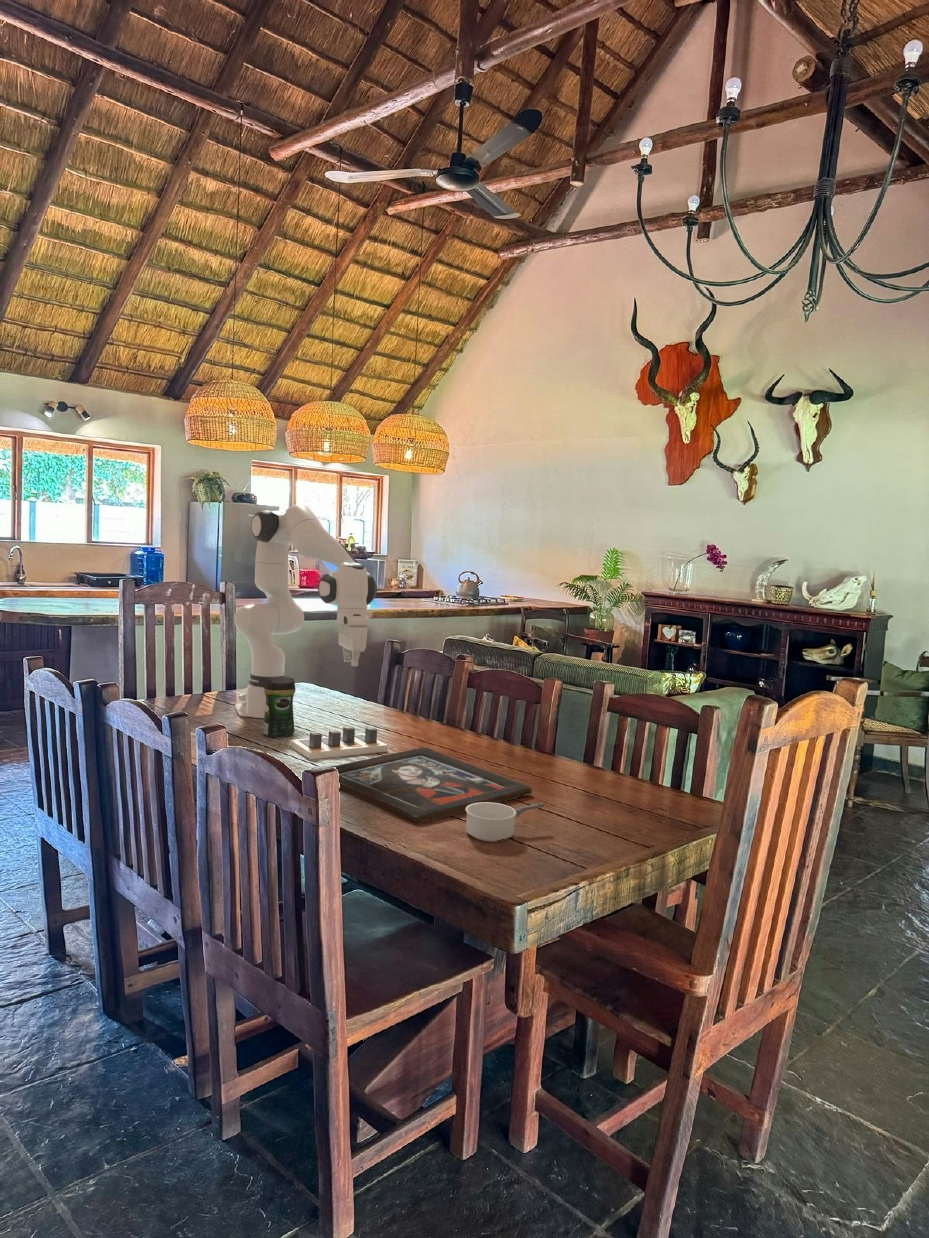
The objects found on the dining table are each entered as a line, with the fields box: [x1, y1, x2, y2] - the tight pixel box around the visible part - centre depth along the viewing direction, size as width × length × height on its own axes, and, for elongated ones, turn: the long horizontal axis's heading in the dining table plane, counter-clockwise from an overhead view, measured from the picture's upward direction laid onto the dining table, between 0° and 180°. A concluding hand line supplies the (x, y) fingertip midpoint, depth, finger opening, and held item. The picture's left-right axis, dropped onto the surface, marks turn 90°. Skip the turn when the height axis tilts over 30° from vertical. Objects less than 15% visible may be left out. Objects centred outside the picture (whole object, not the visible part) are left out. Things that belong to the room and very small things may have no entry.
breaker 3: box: [342, 726, 356, 742], centre depth 245 cm, size 3×2×4 cm
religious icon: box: [330, 746, 533, 825], centre depth 214 cm, size 40×45×3 cm
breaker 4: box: [364, 727, 378, 743], centre depth 246 cm, size 3×2×4 cm
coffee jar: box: [262, 676, 296, 738], centre depth 255 cm, size 10×8×19 cm
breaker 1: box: [309, 731, 323, 748], centre depth 236 cm, size 3×2×4 cm
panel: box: [289, 733, 389, 760], centre depth 244 cm, size 15×25×2 cm, turn 123°
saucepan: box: [465, 802, 545, 842], centre depth 183 cm, size 12×20×6 cm, turn 121°
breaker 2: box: [328, 729, 342, 747], centre depth 240 cm, size 3×2×4 cm
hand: (350, 663), depth 241 cm, fingers open, 8 cm apart
